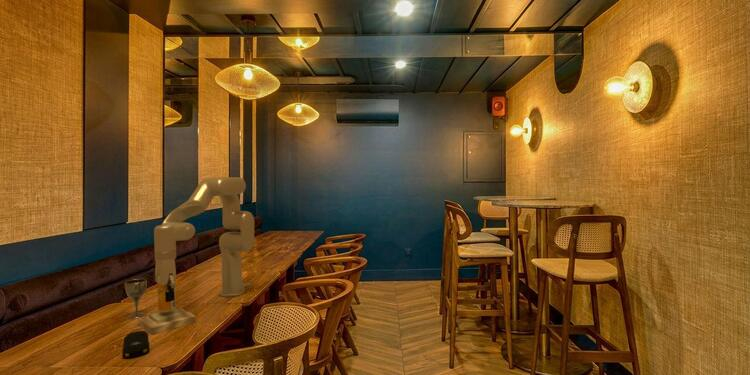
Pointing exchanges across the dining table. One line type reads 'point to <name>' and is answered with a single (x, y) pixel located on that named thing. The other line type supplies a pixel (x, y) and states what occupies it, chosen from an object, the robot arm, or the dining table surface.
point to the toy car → (135, 344)
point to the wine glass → (136, 294)
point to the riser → (166, 320)
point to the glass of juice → (162, 303)
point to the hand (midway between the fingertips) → (167, 299)
